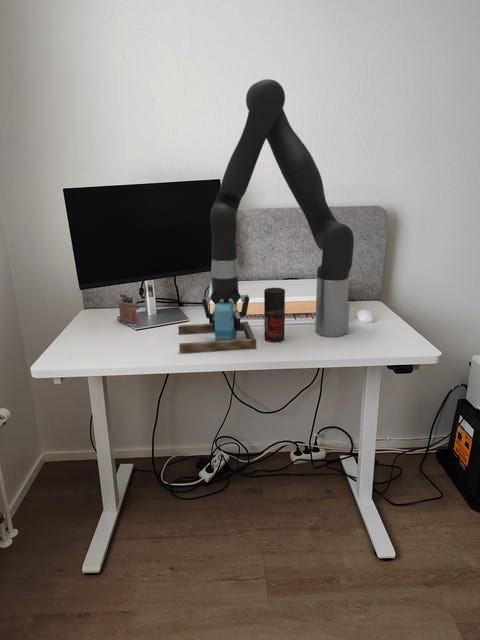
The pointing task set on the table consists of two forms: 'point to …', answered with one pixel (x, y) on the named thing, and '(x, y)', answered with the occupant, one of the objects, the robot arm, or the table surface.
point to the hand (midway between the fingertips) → (226, 330)
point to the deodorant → (274, 315)
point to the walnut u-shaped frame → (215, 345)
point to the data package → (224, 321)
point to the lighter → (127, 309)
